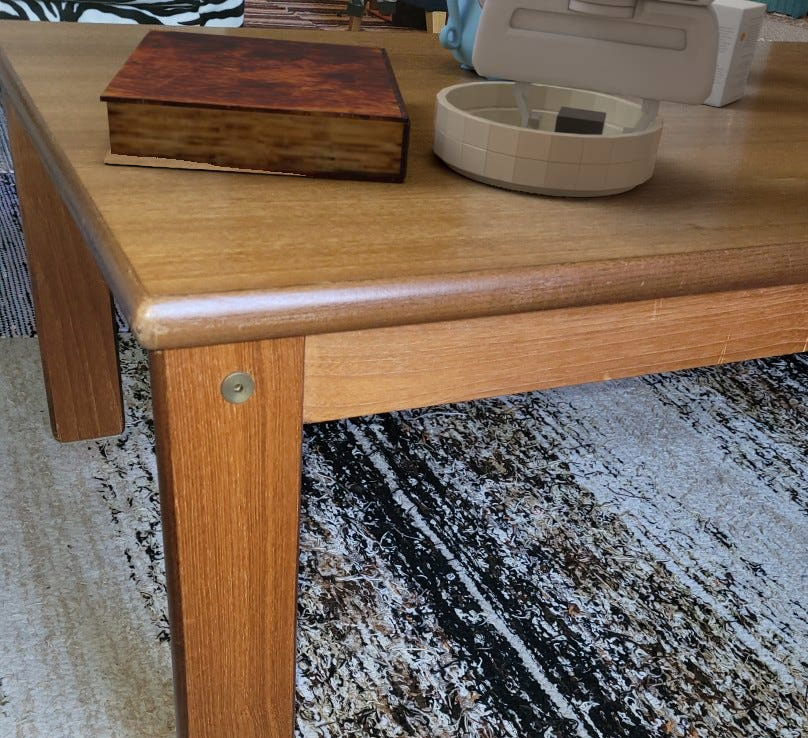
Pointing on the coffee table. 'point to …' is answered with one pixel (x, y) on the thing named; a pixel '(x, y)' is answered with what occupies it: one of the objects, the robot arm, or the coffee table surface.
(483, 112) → the bowl
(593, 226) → the coffee table surface
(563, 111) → the block
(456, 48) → the decorative pot
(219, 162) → the book
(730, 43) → the small box
